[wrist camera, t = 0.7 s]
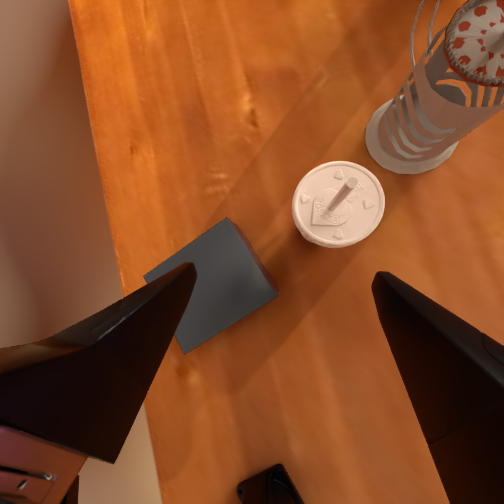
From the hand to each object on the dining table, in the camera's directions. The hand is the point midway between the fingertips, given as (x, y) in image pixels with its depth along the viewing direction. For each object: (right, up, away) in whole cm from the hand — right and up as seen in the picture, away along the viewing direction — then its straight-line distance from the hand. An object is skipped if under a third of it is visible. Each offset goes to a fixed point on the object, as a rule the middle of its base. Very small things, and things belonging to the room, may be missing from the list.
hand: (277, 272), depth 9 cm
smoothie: (+7, +4, +14) cm, 16 cm away
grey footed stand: (-6, -3, +15) cm, 17 cm away
